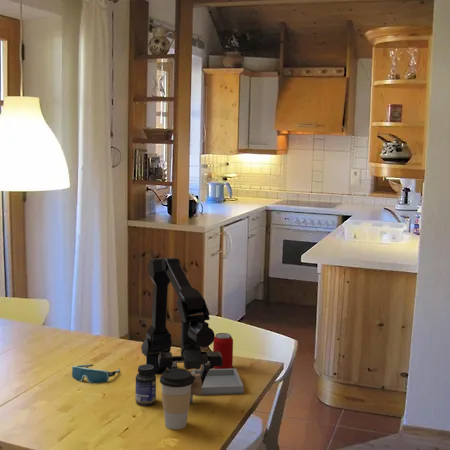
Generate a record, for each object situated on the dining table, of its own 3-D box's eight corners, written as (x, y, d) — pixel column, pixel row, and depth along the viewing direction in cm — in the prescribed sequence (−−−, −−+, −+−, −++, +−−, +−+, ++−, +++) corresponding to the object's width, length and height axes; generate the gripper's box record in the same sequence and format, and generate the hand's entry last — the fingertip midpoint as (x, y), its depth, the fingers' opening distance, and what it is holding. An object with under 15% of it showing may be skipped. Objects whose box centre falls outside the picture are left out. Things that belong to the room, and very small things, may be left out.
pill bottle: (156, 405, 192) (156, 370, 190) (135, 406, 191) (135, 371, 189) (155, 397, 198) (155, 362, 196) (135, 398, 197) (135, 363, 195)
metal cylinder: (186, 404, 193) (186, 388, 192) (185, 401, 195) (186, 386, 194) (193, 404, 193) (193, 388, 193) (192, 401, 195) (192, 385, 195)
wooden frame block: (179, 395, 190) (180, 382, 189) (177, 385, 197) (178, 372, 197) (201, 394, 191) (201, 381, 190) (198, 384, 198) (199, 372, 198)
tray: (195, 395, 200) (195, 387, 200) (191, 376, 215) (191, 369, 214) (243, 393, 202) (243, 386, 202) (235, 375, 217) (235, 368, 216)
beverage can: (233, 365, 226) (234, 332, 224) (231, 373, 219) (232, 339, 217) (213, 364, 226) (214, 331, 224) (211, 371, 220) (212, 337, 218)
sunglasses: (64, 380, 209) (65, 365, 209) (87, 370, 224) (88, 356, 223) (103, 386, 205) (104, 371, 205) (124, 376, 219) (125, 361, 219)
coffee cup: (159, 417, 184) (160, 367, 182) (192, 417, 185) (193, 367, 183) (158, 433, 175) (159, 380, 172) (193, 432, 175) (194, 380, 173)
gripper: (160, 346, 182) (159, 399, 184) (226, 344, 184) (224, 396, 187) (158, 333, 193) (158, 383, 195) (220, 332, 195) (219, 381, 198)
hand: (189, 386), depth 193 cm, fingers closed on wooden frame block, 6 cm apart
